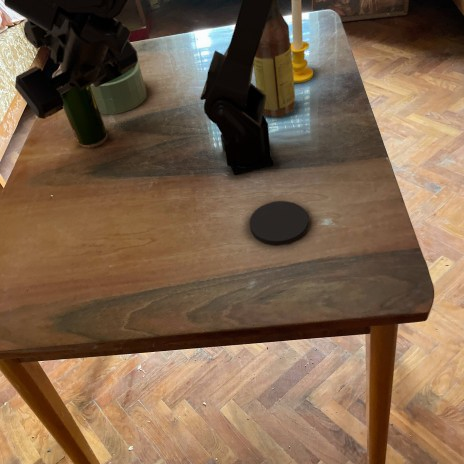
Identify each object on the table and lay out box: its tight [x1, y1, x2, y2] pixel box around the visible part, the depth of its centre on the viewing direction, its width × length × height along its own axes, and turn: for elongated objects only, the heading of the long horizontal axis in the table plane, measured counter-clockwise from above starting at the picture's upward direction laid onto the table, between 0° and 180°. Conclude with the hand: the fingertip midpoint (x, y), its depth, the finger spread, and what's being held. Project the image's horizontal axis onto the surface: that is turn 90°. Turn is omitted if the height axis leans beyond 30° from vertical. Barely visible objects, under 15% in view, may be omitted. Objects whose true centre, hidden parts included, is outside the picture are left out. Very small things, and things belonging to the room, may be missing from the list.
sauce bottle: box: [253, 0, 296, 118], centre depth 81 cm, size 7×6×20 cm
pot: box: [90, 61, 148, 115], centre depth 96 cm, size 11×11×6 cm
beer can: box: [51, 68, 108, 149], centre depth 86 cm, size 5×5×12 cm
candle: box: [290, 0, 314, 84], centre depth 89 cm, size 5×5×16 cm
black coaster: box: [249, 200, 310, 246], centre depth 71 cm, size 8×8×1 cm
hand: (72, 96), depth 85 cm, fingers open, 9 cm apart
